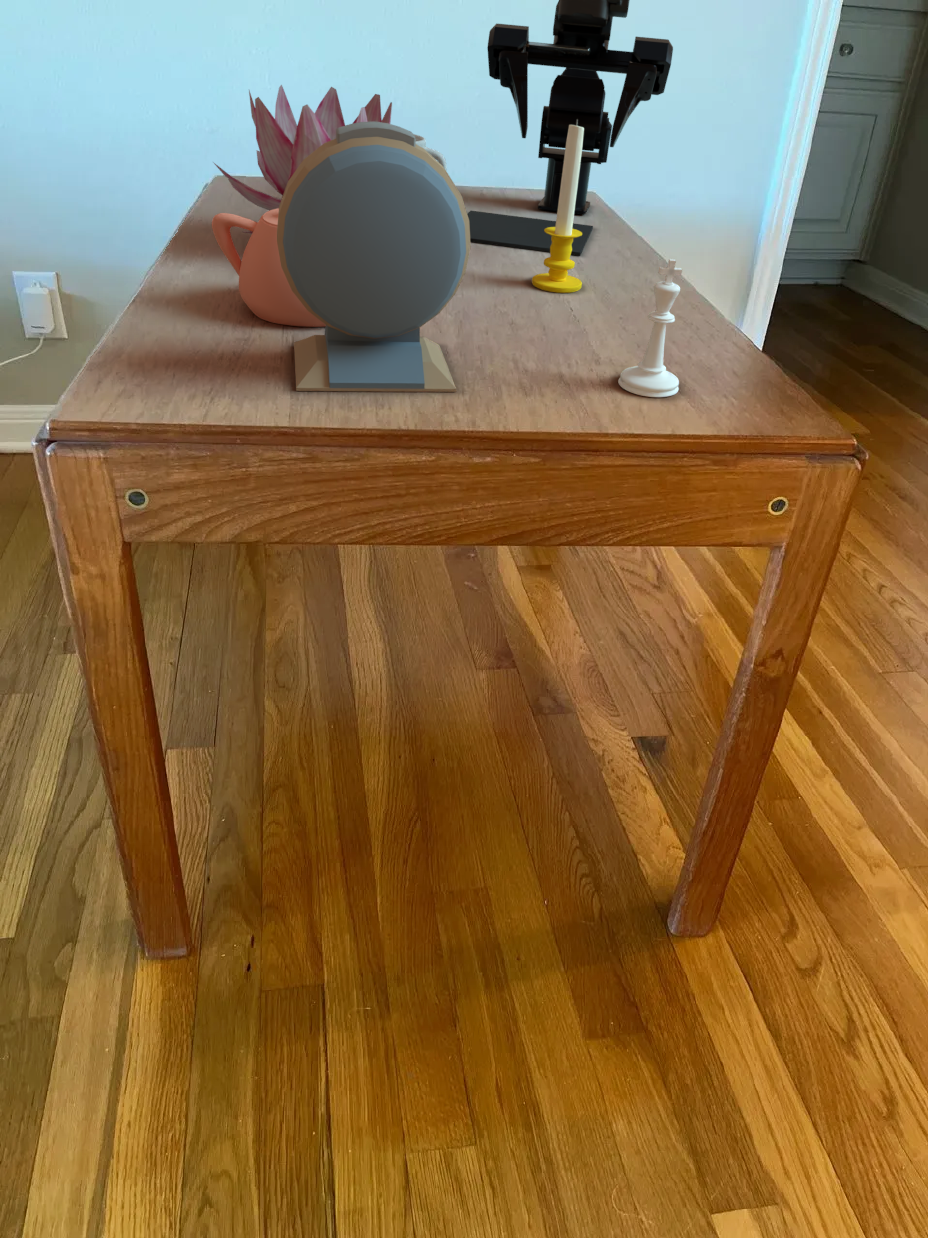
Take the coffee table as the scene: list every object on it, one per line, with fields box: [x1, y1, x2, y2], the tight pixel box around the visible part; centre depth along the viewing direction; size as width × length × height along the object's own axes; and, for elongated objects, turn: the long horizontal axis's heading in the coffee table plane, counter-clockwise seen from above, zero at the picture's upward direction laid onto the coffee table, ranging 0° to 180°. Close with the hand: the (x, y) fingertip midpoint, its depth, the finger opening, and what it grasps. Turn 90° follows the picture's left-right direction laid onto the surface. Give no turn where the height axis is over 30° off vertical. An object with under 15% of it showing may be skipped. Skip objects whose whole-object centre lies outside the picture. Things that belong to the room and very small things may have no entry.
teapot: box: [211, 208, 326, 328], centre depth 85 cm, size 12×18×10 cm
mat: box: [467, 210, 594, 257], centre depth 116 cm, size 14×16×1 cm
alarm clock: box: [277, 121, 472, 393], centre depth 71 cm, size 14×10×18 cm
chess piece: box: [617, 258, 683, 398], centre depth 75 cm, size 5×5×10 cm
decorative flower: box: [212, 84, 393, 235], centre depth 99 cm, size 21×21×15 cm
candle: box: [531, 119, 584, 294], centre depth 95 cm, size 5×5×16 cm
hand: (567, 140), depth 99 cm, fingers open, 9 cm apart
